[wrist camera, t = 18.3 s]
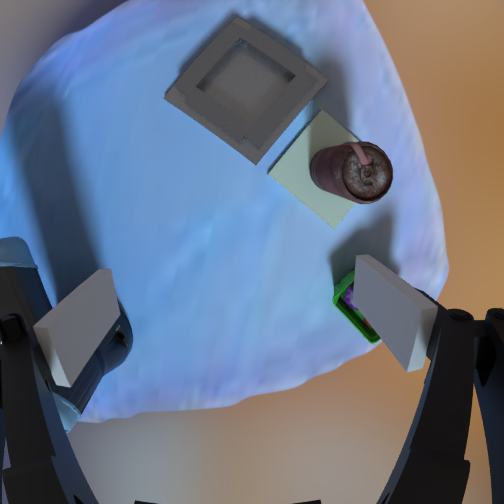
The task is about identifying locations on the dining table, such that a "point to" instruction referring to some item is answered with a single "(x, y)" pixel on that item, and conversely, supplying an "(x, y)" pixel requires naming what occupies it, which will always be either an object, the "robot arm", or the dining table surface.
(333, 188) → the can
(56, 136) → the dining table surface
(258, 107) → the socket block
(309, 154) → the mat
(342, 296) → the fruit basket
